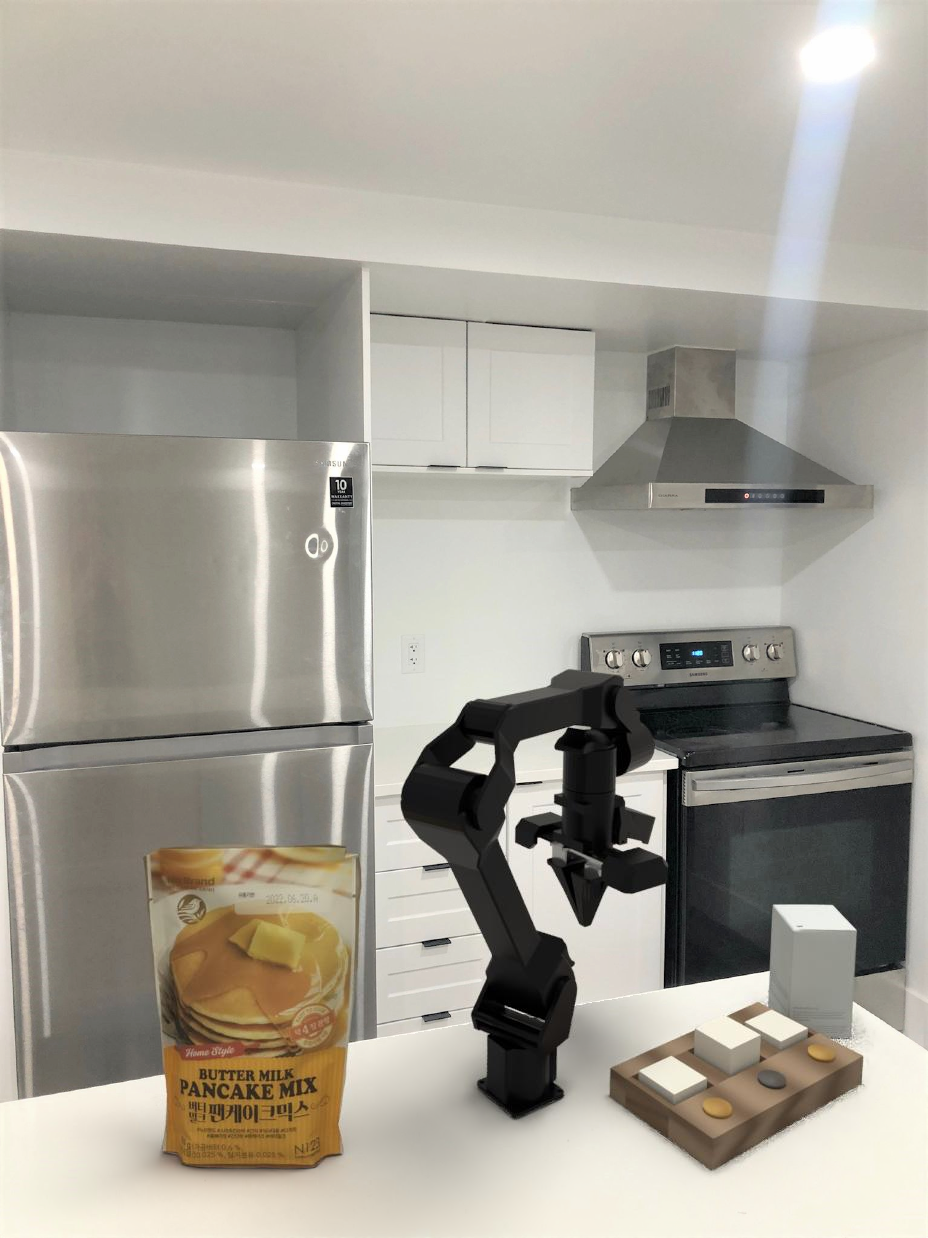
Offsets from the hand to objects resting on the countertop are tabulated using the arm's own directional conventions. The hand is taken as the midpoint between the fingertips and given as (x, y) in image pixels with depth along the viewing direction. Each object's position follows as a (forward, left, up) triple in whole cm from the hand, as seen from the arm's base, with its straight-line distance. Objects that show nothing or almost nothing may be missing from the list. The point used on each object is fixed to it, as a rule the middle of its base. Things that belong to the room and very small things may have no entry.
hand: (585, 925), depth 103 cm
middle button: (+7, -14, -11) cm, 19 cm away
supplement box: (+24, -12, -13) cm, 30 cm away
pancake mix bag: (-37, +3, -13) cm, 40 cm away
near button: (-1, -14, -13) cm, 19 cm away
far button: (+14, -14, -12) cm, 24 cm away
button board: (+7, -16, -13) cm, 22 cm away
